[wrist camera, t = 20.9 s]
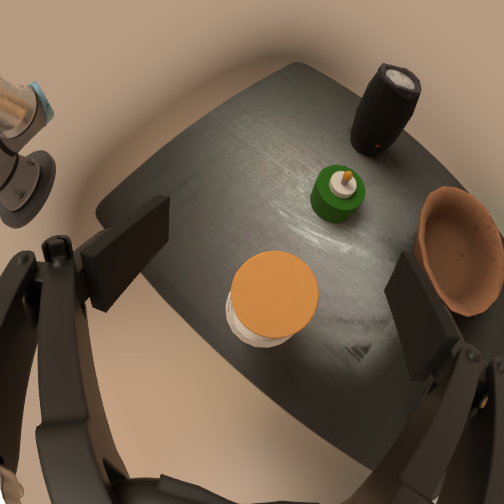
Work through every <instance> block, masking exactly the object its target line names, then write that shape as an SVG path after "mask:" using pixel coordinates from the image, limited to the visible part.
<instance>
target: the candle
mask: <svg viewBox="0 0 504 504" xmlns="http://www.w3.org/2000/svg"><path fill="white" fill-rule="evenodd" d="M364 197H365V187H364V184H363V181H362V180H361V178H360V177H359V176H358V174H357V173H355V172H354V171H353V170H351V169H350V168H347V167H345V166H341V165H332V166H328V167H326V168H324V169H323V170H322V171H321V172H320V174H319V175H318V178H317V180H316V183H315V185H314V188H313V190H312V193H311V198H310V200H311V205H312V208H313V209H314V211H315V212H316V214H317V215H318V216H319V217H321V218H322V219H324V220H326V221H328V222H332V223H340V222H344V221H346V220H347V219H349V218H350V217H351V215H352V214H353V213H354V212H355V211H356V209H357V208H358V207H359V206H360V204H361V203H362V202H363V200H364Z"/></svg>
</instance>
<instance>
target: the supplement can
mask: <svg viewBox="0 0 504 504" xmlns="http://www.w3.org/2000/svg"><path fill="white" fill-rule="evenodd" d="M226 317H227V321H228V323H229V325H230V328H231V330H232V332H233V333H234V334H235V335H236V336H237V337H238V338H239V339H240V340H242V341H243V342H245V343H247V344H250V345H252V346H254V347H266V348H269V347H273V346H276V345H279V344H282V343H283V342H285V341H286V340H288V339H289V338H290V337H292V336H293V335H290V336H287V337H283V338H267V337H263V336H259V335H257V334H255V333H253V332H251V331H250V330H248V329H247V328H246V327H245V326H244V325H243V324H242V323H241V322H240V321H239V319H238V318H237V316H236V314H235V312H234V310H233V307H232V302H231V291H230V293H229V295H228V299H227V303H226Z"/></svg>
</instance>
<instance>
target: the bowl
mask: <svg viewBox="0 0 504 504" xmlns="http://www.w3.org/2000/svg"><path fill="white" fill-rule="evenodd" d="M413 254H414V256H415V257H416V259H417V260H418V262H419V264H420V265H421V267H422V268H423V270H424V272H425V273H426V275H427V277H428V278H429V280H430V282H431V284H432V285H433V287H434V289H435V291H436V292H437V294H438V296H439V298H440V299H441V300H442V301H443V302H444V303H445V305H446V306H447V307H448V308H449V309H450V311H453V312H455V313H458V314H460V315H463V316H466V317H469V316H472V315H475V314H478V313H481V312H484V311H486V310H487V309H488V308H489V306H490V305H491V304H492V303H493V302H494V301H495V300H496V299H497V298H498V296H499V293H500V290H501V288H502V285H503V282H504V250H503V245H502V242H501V238H500V234H499V231H498V229H497V227H496V225H495V223H494V221H493V220H492V217H491V215H490V213H489V212H488V211H487V210H486V209H485V207H484V206H482V204H481V203H480V202H479V201H478V200H477V199H476V198H475V197H474V196H472V195H470V194H468V193H466V192H465V191H463V190H461V189H459V188H454V187H446V186H442V187H441V188H439V189H437V190H435V191H433V192H432V193H430V194H429V195H428V197H427V199H426V201H425V203H424V205H423V207H422V209H421V210H420V215H419V228H418V231H417V233H416V235H415V243H414V251H413Z"/></svg>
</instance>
